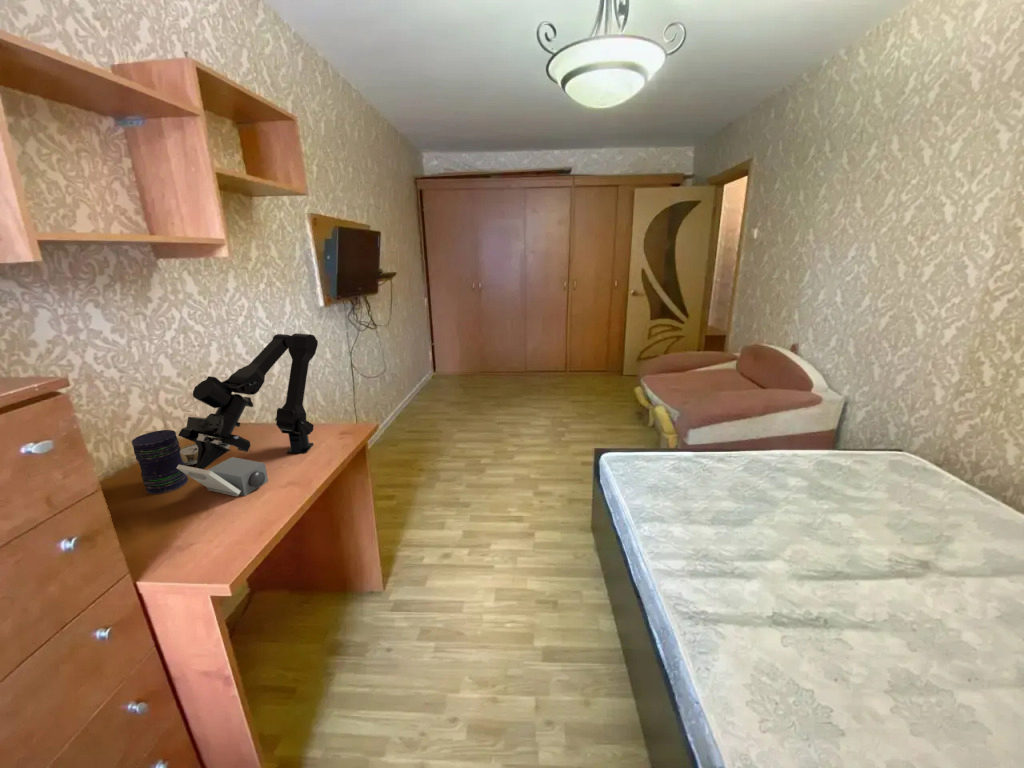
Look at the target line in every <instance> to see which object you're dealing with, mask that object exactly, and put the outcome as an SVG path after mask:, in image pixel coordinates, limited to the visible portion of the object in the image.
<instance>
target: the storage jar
mask: <svg viewBox="0 0 1024 768" xmlns="http://www.w3.org/2000/svg"><path fill="white" fill-rule="evenodd" d="M131 444H132V449H133V453H134V456H135V460H136V462H138V464H139V468H140V475H141V480H142V483H143V484H144V487H145V491H146V493H148V494H153V495H154V494H155V495H159V494H164V493H168V492H172V491H175V490H177V489H180V488H182V487H183V486H184V485H186V484H187V483H188V481H189V476H187V474H185V473H183V472H182V471H180V470H179V469H177V468H176V467H177V466H178V465H184V462H183V461H182V458H181V455H180V448H181V446H180V442H179V439H178V437H177V433H176V431H175V430H172V429H164V430H155V431H150V432H147V433H143V434H141V435H138V436H136V437H135V438H134V439H132V440H131ZM184 466H185V465H184Z"/></svg>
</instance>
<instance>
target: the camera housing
mask: <svg viewBox="0 0 1024 768" xmlns="http://www.w3.org/2000/svg"><path fill="white" fill-rule="evenodd" d="M207 470H209V471H212V472H214V473H215V474H217V475H218V476H220V477H221V478H223V479H224V480H225V481H227V482H228V483H230V484H231V485H233V486H234V487H236V488H237V489H239V490H240V491H241V492H240V493H239V495H238V496H244V497H246V496H248V495H249V494H250V493H252V492H254V491H255V490H257V489H259V488H260V487H262V486H263V485H265V484H266V483H268V482H269V478H268V473H267V467H266V464H265V462H261V461H255V460H250V459H246V458H245V459H244V458H240V457H239V458H238V457H233V456H232V457H229V458H228V459H226V460H224V461H222V462H220V463H218V464H216V465H214V466H212V467H210V468H207Z"/></svg>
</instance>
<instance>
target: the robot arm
mask: <svg viewBox="0 0 1024 768" xmlns="http://www.w3.org/2000/svg"><path fill="white" fill-rule="evenodd" d="M318 346H319V343H318V339H317V338H316V336H315V335H314V334H309V333H295V332H294V333H293V334H291V335H290V334H283V333H282V334H281V333H277V334H275V335H273V336H272V339H271V341H270V342H269V343H268V344H267V345H266V346H265V347H264V348H263V349H262V350H261V351H260V353H258V354H257V355H256V357H255V358H254V359H253V360H252V361H251V362H250V363H249V364H247V365H245V366H243V367H241V368H239V369H238V370H236V371H235V372H234V373H232V374H231V375H230V376H229V377H228V378H227V379H225V380H224V381H221V380H220V379H218V378H217V377H215V376H212V375H211V376H210V375H209V376H207V377H206V379H204V380H203V381H201V382H199V383H198V384H197V385H196V386H194V388H193V389H192V396H193V398H194V399H195V400H198V401H199V402H201V403H203V404H204V405H207V406H209V407H211V408H213V409H216V411H215V413H212V412H211V413H210V414H209V415H208V416H207V417H197V416H188V418H187V422H186V426H185V427H183V428H181V429H180V430H179V433H178V436H179V437H180V438H183V439H186V440H188V441H190V442H193V443H196V444H197V446H198V458H197V464H196V467H195V468H199V469H204V470H206V468H207V467H208V466H210V465H211V464H212V463H214V461H216V460H217V459H219V458H220V457H222V456H224V454H226V453H229V452H230V451H231V449H230V447H231V446H232V447H235V448H237V450H238V451H241V452H248V451H249V450H250V449H251V441H250V440H249V439H246V438H244V437H242V436H240V435H238V434H237V435H236V434H233V432H234V430H235V428H236V427H240V426H241V423H240V422H239V420H240V418H241V417H242V414H243V412H244V410H245V408H246V407H248V408H253V407H254V403H253V402H252V399H251V397H248V396H242V395H250V396H253V395H256V394H257V393H258V392H259V391H260V389H261V388H262V386H263V385H264V383H265V378H266V374H267V373H268V372H269V371H270V369H272V367H274V365H275V364H276V363H277V362H278V360H279V359H280V358H281V357H282V356H283V355H284V354H285V353H286V351H288V353H289V355H290V357H291V366H290V370H289V371H290V372H289V379H288V385H287V391H286V392H287V393H286V399H285V403H284V405H283V406H282V407H278V408H277V409H276V416H275V420H274V421H275V422H276V424H275V425H276V426H277V428H278V429H279V430H280V432H281V433H282V434H288V438H289V446H290V448H288V449H287V451H286V453H287V454H305V453H308V452H309V450H310V449H311V448H312V447H313V446H314V442H310V441H309V439H310V438H309V435H311V434H312V432H313V431H314V427H315V426H314V424H313V423H312V422H310V421H308V420H307V412H306V410H305V407H304V405H303V404H304V398H305V390H306V383H307V376H308V370H309V365H310V361H311V360H312V359H313V357H314V356H315V355H316V352H317V349H318ZM233 393H234V394H233Z"/></svg>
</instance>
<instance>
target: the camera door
mask: <svg viewBox="0 0 1024 768" xmlns="http://www.w3.org/2000/svg"><path fill="white" fill-rule="evenodd" d="M176 468H177V469H179V470H180V471H182V472H183V473H185V474H187V477H188V478H191V479H193V480H195V481H196V482H198V483H199V484H201V485H202V486H205V487H206V489H207V491H209V492H214V493H219V494H224V495H228V496H233V497H239V496H240V495H239V493H240V492H241V491H240V490H239V489H237V488H236V487H234V486H233V485H231V484H230V483H228V482H227V481H225V480H224V479H223V478H221V477H220V476H218V475H217V474H215V473H214V472H212V471H209V470H208V469H199V468H196V467H193V466H190V465H187V466H184V465H178V466H177V467H176Z"/></svg>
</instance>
